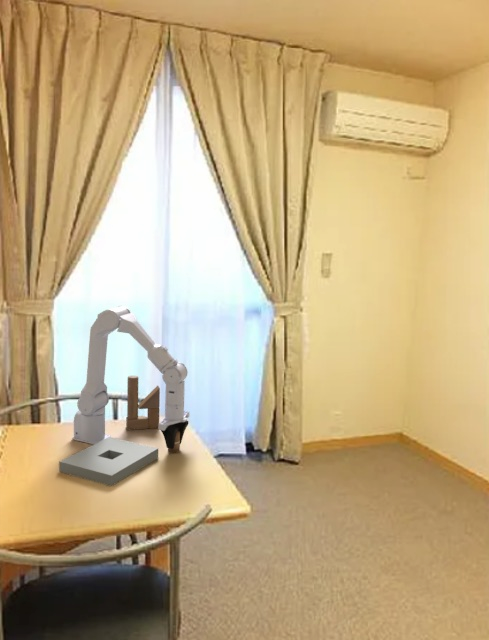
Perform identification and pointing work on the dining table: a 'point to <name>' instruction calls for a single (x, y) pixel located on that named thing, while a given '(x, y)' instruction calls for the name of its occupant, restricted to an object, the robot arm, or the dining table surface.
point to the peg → (176, 444)
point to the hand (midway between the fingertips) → (173, 445)
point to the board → (108, 461)
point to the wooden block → (141, 407)
